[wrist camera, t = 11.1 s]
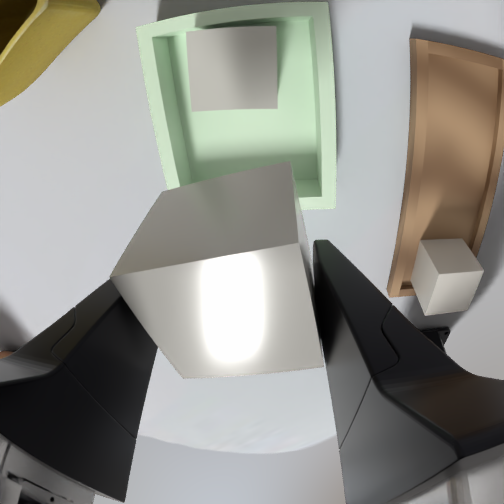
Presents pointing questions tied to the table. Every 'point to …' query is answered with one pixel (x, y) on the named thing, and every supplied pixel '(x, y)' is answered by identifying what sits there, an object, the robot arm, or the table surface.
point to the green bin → (248, 120)
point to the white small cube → (226, 276)
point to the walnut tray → (448, 151)
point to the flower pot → (36, 38)
